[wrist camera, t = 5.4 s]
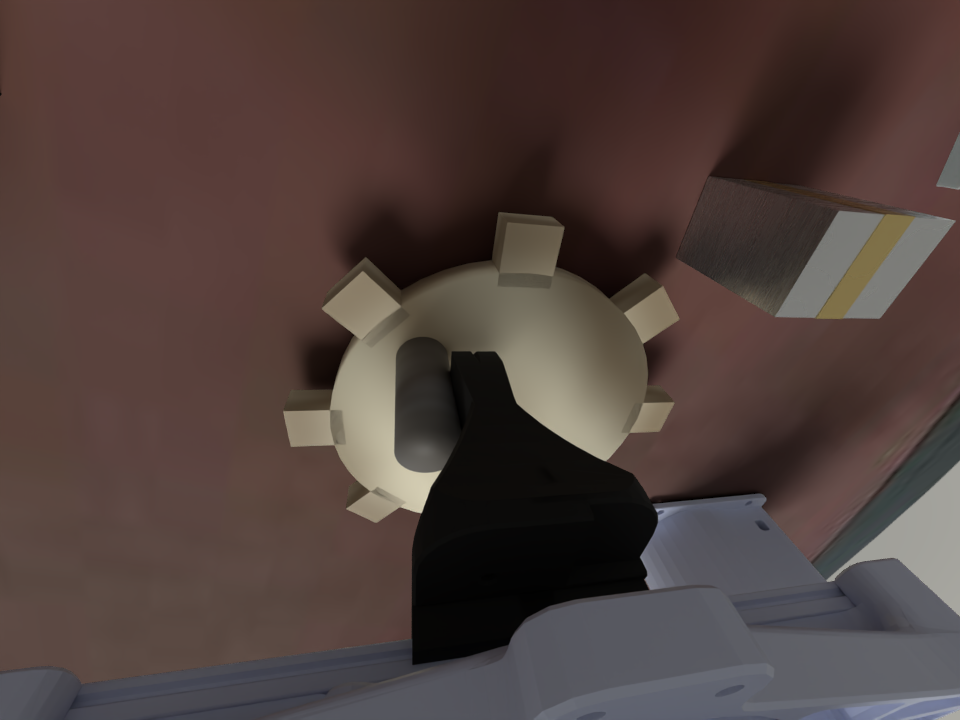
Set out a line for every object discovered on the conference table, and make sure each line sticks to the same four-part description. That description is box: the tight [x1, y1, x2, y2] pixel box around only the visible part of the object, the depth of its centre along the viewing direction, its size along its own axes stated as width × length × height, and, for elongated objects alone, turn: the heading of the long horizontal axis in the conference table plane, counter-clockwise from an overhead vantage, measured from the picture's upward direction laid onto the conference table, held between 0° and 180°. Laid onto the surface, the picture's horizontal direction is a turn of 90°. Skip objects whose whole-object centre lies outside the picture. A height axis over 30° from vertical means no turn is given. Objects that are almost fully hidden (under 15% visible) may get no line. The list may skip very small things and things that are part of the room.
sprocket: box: [283, 212, 679, 523], centre depth 14 cm, size 16×16×5 cm
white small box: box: [676, 176, 955, 319], centre depth 13 cm, size 4×3×5 cm
